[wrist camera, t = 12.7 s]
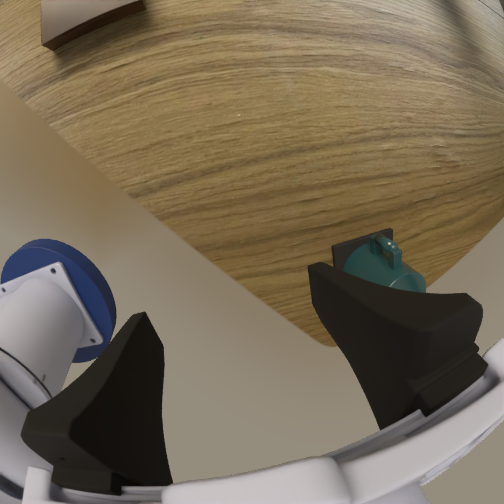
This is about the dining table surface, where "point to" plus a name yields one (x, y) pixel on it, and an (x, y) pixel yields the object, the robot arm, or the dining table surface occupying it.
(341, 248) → the coaster
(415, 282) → the teal tabbed cylinder
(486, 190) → the dining table surface
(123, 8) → the plate
